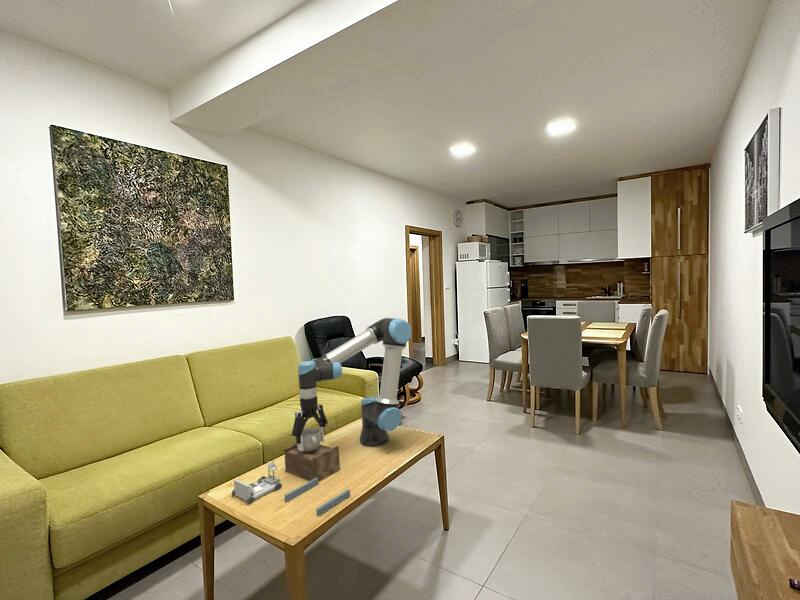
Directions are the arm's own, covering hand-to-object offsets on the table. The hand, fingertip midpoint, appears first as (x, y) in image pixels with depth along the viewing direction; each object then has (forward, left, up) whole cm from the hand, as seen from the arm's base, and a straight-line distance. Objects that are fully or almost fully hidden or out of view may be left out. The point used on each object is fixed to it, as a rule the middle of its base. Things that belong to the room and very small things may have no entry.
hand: (311, 445), depth 177 cm
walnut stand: (0, 0, -11) cm, 11 cm away
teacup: (+1, 0, -2) cm, 2 cm away
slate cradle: (+15, +20, -11) cm, 27 cm away
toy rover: (+23, -5, -12) cm, 27 cm away
